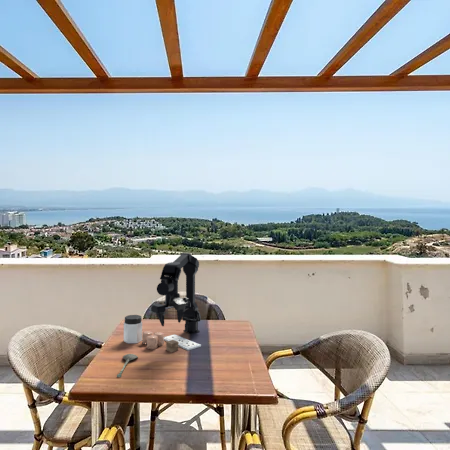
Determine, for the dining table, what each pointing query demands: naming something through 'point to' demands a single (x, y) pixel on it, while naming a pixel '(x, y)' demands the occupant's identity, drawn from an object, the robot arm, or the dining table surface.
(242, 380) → the dining table surface
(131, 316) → the jar
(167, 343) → the brown cube
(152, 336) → the peach rounded blob
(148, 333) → the peach rounded piece
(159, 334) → the peach rounded capsule
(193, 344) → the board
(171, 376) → the dining table surface
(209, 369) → the dining table surface
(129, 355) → the soupspoon
